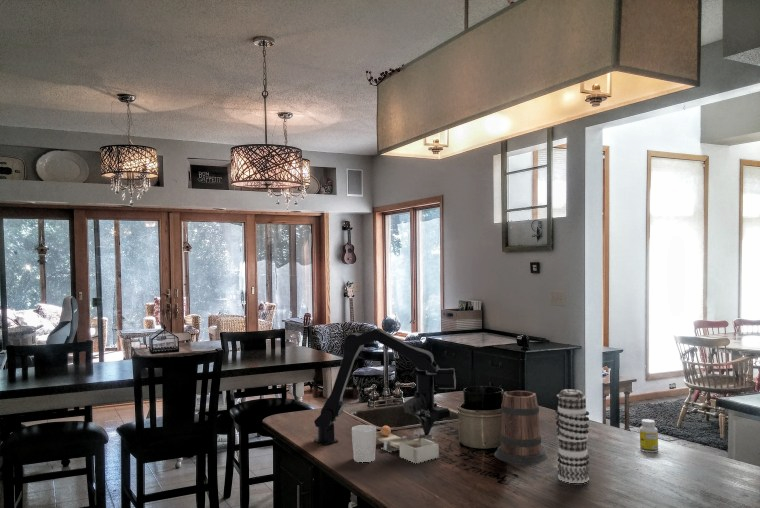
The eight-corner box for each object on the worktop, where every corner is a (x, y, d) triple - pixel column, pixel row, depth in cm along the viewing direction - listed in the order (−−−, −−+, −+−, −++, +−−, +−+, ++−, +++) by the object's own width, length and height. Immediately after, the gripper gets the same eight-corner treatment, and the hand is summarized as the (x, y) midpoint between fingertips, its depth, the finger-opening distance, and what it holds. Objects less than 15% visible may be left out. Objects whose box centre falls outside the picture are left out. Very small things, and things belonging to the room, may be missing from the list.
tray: (399, 457, 188) (399, 443, 189) (422, 451, 194) (422, 438, 194) (415, 463, 182) (415, 449, 182) (438, 457, 187) (438, 443, 188)
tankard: (545, 466, 178) (544, 400, 178) (489, 460, 184) (488, 396, 184) (552, 444, 200) (551, 385, 200) (502, 440, 206) (501, 382, 206)
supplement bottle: (639, 447, 195) (638, 417, 196) (657, 448, 194) (656, 419, 194) (640, 452, 190) (640, 421, 191) (659, 453, 188) (658, 423, 189)
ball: (378, 435, 203) (378, 425, 203) (386, 433, 205) (386, 423, 205) (384, 438, 201) (384, 428, 200) (392, 436, 203) (392, 426, 202)
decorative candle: (587, 486, 161) (585, 395, 162) (553, 481, 166) (551, 392, 166) (593, 476, 169) (591, 389, 170) (560, 471, 174) (558, 386, 174)
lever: (374, 438, 203) (374, 431, 203) (409, 431, 212) (408, 424, 212) (402, 450, 190) (402, 442, 190) (438, 441, 199) (438, 434, 199)
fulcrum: (380, 448, 198) (380, 439, 198) (402, 443, 203) (401, 434, 203) (389, 452, 193) (389, 442, 194) (411, 447, 199) (410, 437, 199)
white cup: (373, 464, 182) (373, 432, 182) (349, 463, 184) (348, 431, 184) (379, 456, 190) (378, 425, 190) (355, 455, 191) (354, 424, 192)
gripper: (390, 387, 202) (391, 433, 202) (424, 396, 187) (426, 445, 187) (415, 383, 209) (416, 427, 208) (450, 391, 194) (452, 439, 193)
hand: (426, 434), depth 199 cm, fingers closed, pressing on lever
